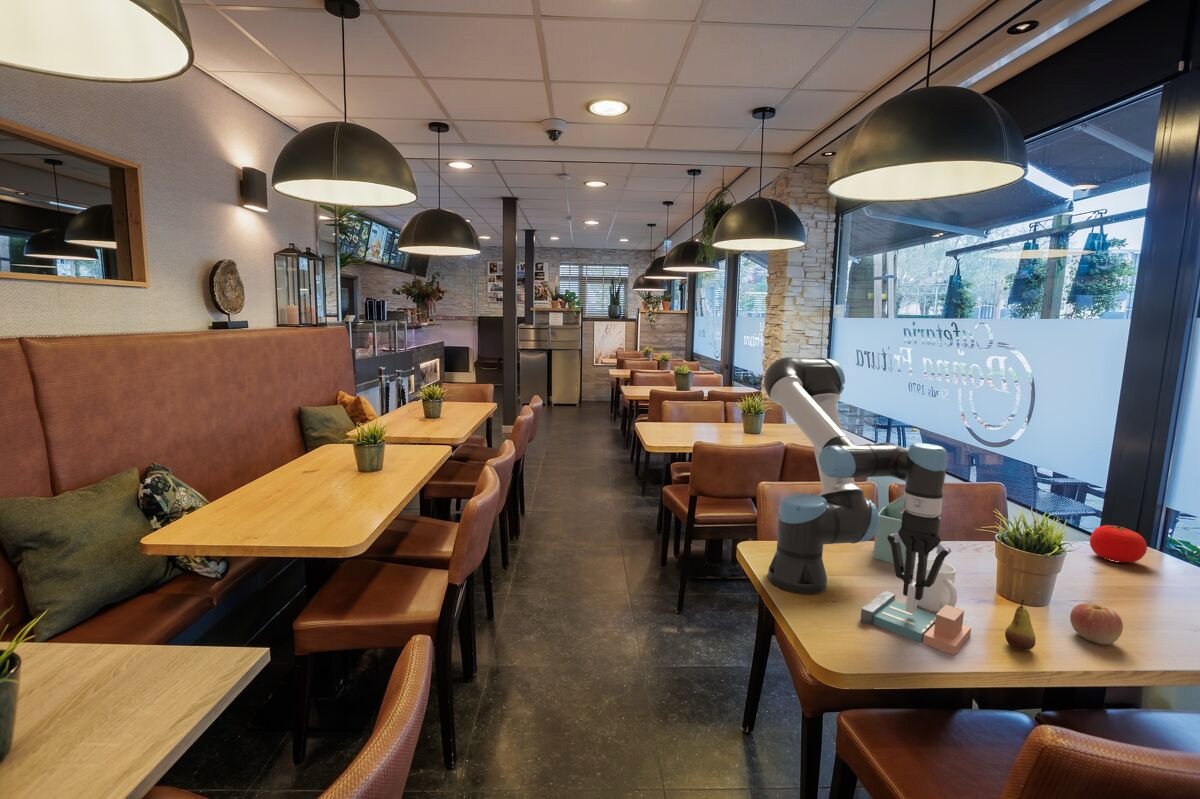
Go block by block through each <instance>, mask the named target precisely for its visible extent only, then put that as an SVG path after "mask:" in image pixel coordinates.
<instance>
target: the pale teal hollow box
mask: <svg viewBox="0 0 1200 799" xmlns="http://www.w3.org/2000/svg"><path fill="white" fill-rule="evenodd" d="M903 505H904V494H901V495H899V497H898V498H896V499H893V501H891V502H889V503H888V504H886V505H884V506H883V507H882V509H881V510H880V511H878V514H879V525H878V529H877V531H876V533H875V535H874V543H873V555H872V558H873V559H877V560H879V561H882V562H886V563H889V564H893V565H894V562H893V555H892V548H891V545H890V543H889V541H888V539H887V537H888V536H889V535H891V534H892V533H894V534H896V533H898V531H899V530H900V528H901V523H902V514H903V511H904V510H905V509H904V507H903ZM900 540H901V538H900ZM900 545H901V552H902V558H903V565H904V568H905V562H906V547H905V545H904V543H903V542H902V540H901V541H900ZM916 560H917V553H916V554H915V563H914V570H916V569H915V568H916V562H917V561H916Z"/></svg>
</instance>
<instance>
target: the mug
mask: <svg viewBox="0 0 1200 799" xmlns="http://www.w3.org/2000/svg"><path fill="white" fill-rule="evenodd" d="M934 560H935V559H928V560H927V569H926V579H927V577H928V575H929V572H930V570H931V567H932V565H933V563H934ZM917 567H918V561H916V567H915V568H916V569H915V578H914V582H916V576H917ZM955 577H956V569H955V567H954V566H952V565H950V564H949V563H946V562H943V563H942V566H941V568H940V570H939V572H938V575H937V577H936V579H935V582H934V584H933V585H931V586H930V587H924V591H923V597H922V599H921V600H918V602H917V607H920V608H921V609H924V610H925V611H930V612H932V613H933V612H935V613H938V612H939V611H940V610H941V609H942V608H943V607H944V606H945V605H949V606H952V607H956V605H957V601H958V593H957V589H956V586H955ZM926 579H925V580H926Z"/></svg>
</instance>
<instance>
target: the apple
mask: <svg viewBox="0 0 1200 799" xmlns="http://www.w3.org/2000/svg"><path fill="white" fill-rule="evenodd" d="M1069 617H1070V618H1069V620H1070V624H1071V626H1072V628H1073V630H1074V631H1075V632H1076V633H1077V634H1078V635H1079V636H1080V637H1082V638H1083V639H1085V640H1087V641H1089V642H1093V643H1095V644H1098V645H1106V646H1107V645H1110V644H1112V643H1115V642H1116V641H1117V640H1119V638H1120V637H1121V635H1122V633H1123V629H1124V624H1123V619H1122V618H1121V616H1120V615H1119V614H1118V613H1117V612H1116V611H1114V610H1113V609H1111V608H1109V607H1106V606H1103V605H1101V604H1095V603H1079V604H1077V605H1075V606H1073V608H1072V609H1071V612H1070V616H1069Z"/></svg>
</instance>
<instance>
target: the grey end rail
mask: <svg viewBox="0 0 1200 799" xmlns="http://www.w3.org/2000/svg"><path fill="white" fill-rule="evenodd" d="M893 600H894V601H896V593H893V592H890V591H888V590H884V591H883V592H882V593H880V594H878V595H877V596H876V597H874V599H872V600H871V601H869V602H868V603H867V604H865V605H864V606H863V607H861V612H860V618H859V619H860V620H859V622H861V623H864V624H865V625H869V626H872V625H874V624H873V616H874V615H875V614H876V613H878V612H879V611H880V610H881V609H883V608H884V607H885V606H886V605H888V604H889V603H890V602H891V601H893Z"/></svg>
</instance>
